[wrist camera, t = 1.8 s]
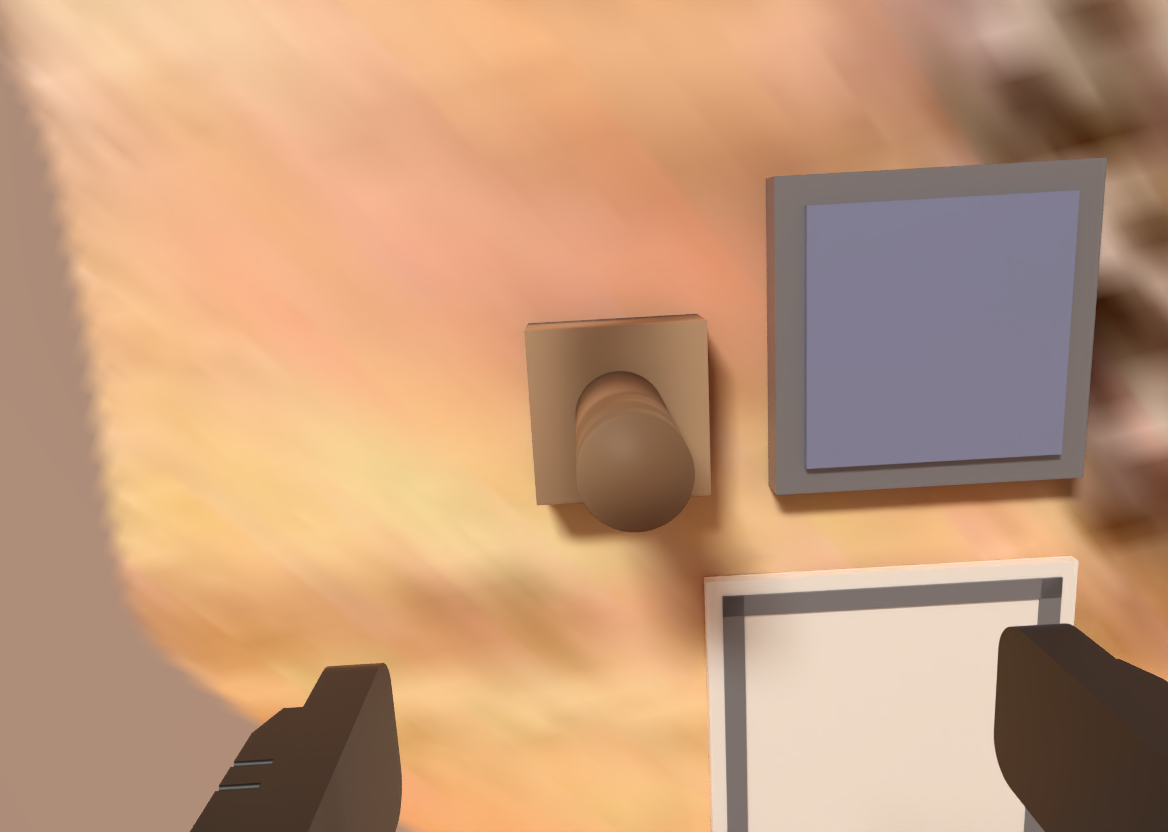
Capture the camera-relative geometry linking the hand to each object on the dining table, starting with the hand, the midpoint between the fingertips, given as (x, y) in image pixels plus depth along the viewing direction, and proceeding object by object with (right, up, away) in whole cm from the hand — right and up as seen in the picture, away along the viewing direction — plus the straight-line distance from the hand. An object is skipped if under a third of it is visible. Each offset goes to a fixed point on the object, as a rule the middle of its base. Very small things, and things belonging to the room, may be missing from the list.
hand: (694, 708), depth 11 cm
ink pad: (+11, +7, +19) cm, 23 cm away
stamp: (0, +4, +20) cm, 20 cm away
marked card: (+11, -9, +23) cm, 26 cm away
